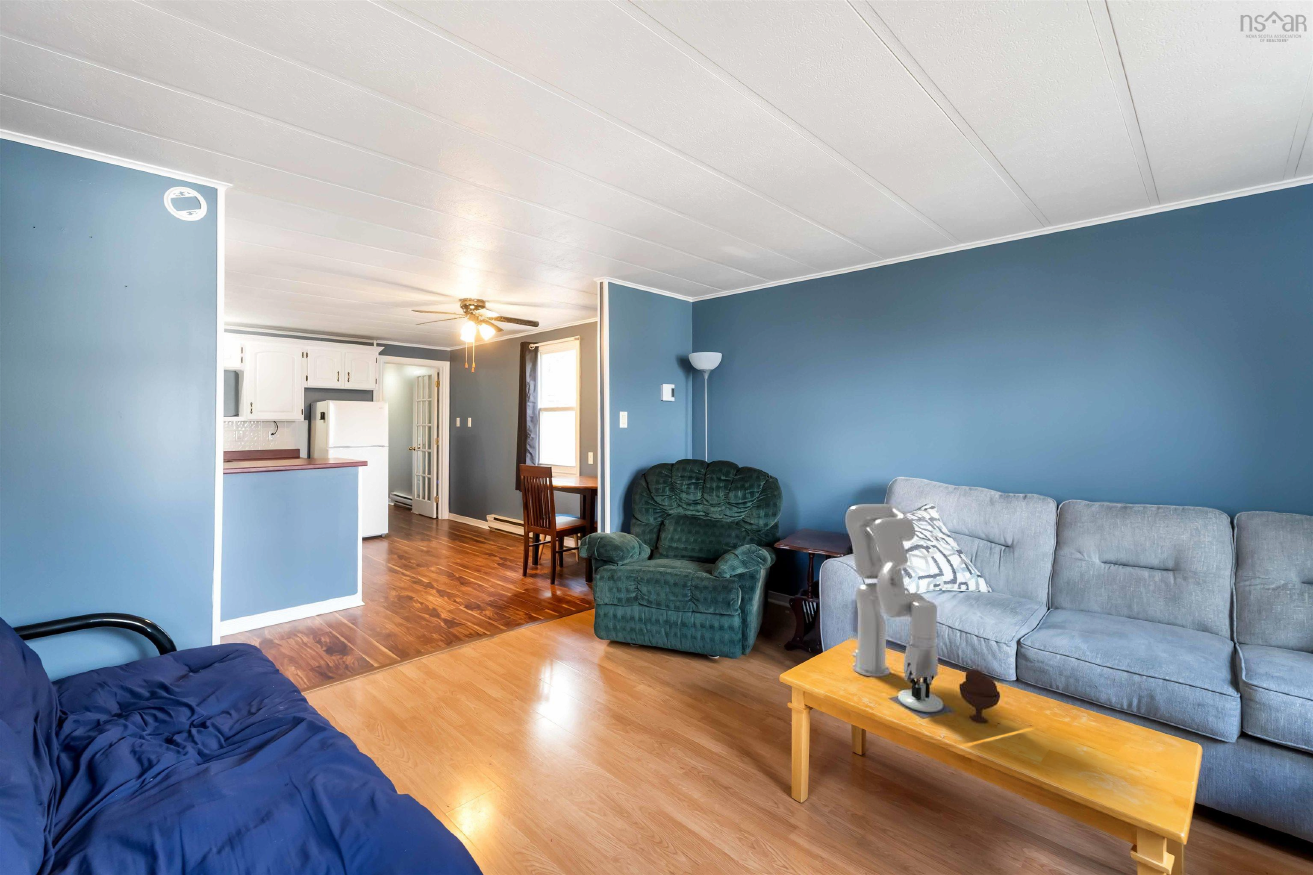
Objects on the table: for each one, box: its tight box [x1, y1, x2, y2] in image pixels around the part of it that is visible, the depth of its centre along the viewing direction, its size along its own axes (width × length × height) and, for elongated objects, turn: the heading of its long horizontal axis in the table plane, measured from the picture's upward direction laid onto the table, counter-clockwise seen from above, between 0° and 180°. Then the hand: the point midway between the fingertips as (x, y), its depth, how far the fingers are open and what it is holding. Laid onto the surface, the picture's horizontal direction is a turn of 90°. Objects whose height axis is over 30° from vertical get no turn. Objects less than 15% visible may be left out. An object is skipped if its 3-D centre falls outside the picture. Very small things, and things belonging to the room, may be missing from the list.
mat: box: [887, 695, 957, 720], centre depth 182 cm, size 14×14×1 cm
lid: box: [897, 681, 944, 712], centre depth 183 cm, size 13×13×6 cm
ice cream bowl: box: [958, 668, 1001, 725], centre depth 174 cm, size 11×11×15 cm
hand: (920, 696), depth 183 cm, fingers closed on lid, 2 cm apart
